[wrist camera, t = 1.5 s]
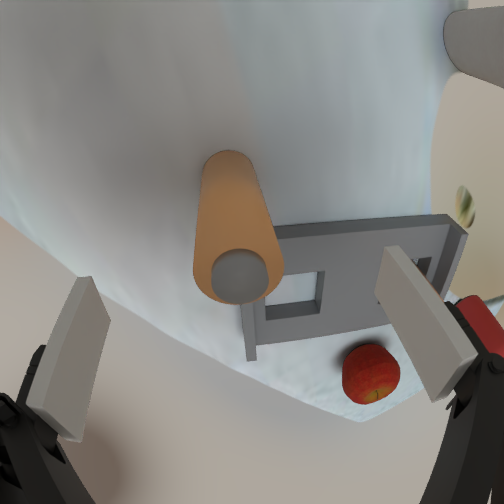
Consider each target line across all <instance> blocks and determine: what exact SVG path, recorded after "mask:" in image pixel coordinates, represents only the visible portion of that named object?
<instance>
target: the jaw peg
mask: <svg viewBox="0 0 504 504" xmlns="http://www.w3.org/2000/svg"><path fill="white" fill-rule="evenodd" d="M283 273H284V260H283V256H282V253H281V250H280V247H279V244H278V241H277V237H276V234H275V231H274V228H273V225H272V222H271V219H270V216H269V213H268V210H267V207H266V204H265V201H264V198H263V195H262V192H261V189H260V186H259V183H258V180H257V177H256V174H255V171H254V168H253V165H252V163H251V162H250V160H249V159H248V158H247V157H246V156H245V155H243V154H241V153H239V152H236V151H230V150H228V151H221V152H218V153H216V154H214V155H213V156H212V157H210V158H209V159H208V161H207V162H206V164H205V165H204V168H203V172H202V181H201V190H200V199H199V208H198V218H197V228H196V239H195V250H194V262H193V276H194V279H195V282H196V284H197V286H198V287H199V289H200V290H201V291H202V292H203V293H204V294H205V295H207V296H208V297H210V298H211V299H213V300H215V301H218V302H221V303H225V304H233V305H240V304H248V303H252V302H255V301H258V300H260V299H262V298H264V297H265V296H267V295H268V294H270V293H271V292H272V291H273V290H274V289H275V288H276V287H277V286H278V284H279V283H280V281H281V279H282V276H283Z"/></svg>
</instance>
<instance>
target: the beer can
mask: <svg viewBox="0 0 504 504" xmlns="http://www.w3.org/2000/svg"><path fill="white" fill-rule="evenodd" d="M455 306H456V307H457V308H459V310H460V311H461V312H462V314H463V315H464V317H465V319H467V321H468V322H469V324H470V326H472V328H473V329H474V331H475V332H476V334H477V335H478V337H479V338H480V340H481V341H482V343H483V344H484V346H485V347H486V349H487V350H488V351H489V353H497V354H499V355H501V356H502V357H503V358H504V330H503V328H502V327H501V325H500V324H499V323H498V321H497V320H496V318H495V317H494V316H493V314H492V313H491V312H490V310H489V309H488V308H487V306H486V305H485V304H484V302H483V301H482V300H481V299H480V298H479V297H478V296H477V295H471V296H468V297H465V298H464V299H462V300H461V301H459V302H458V303H457V304H456V305H455Z"/></svg>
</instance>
